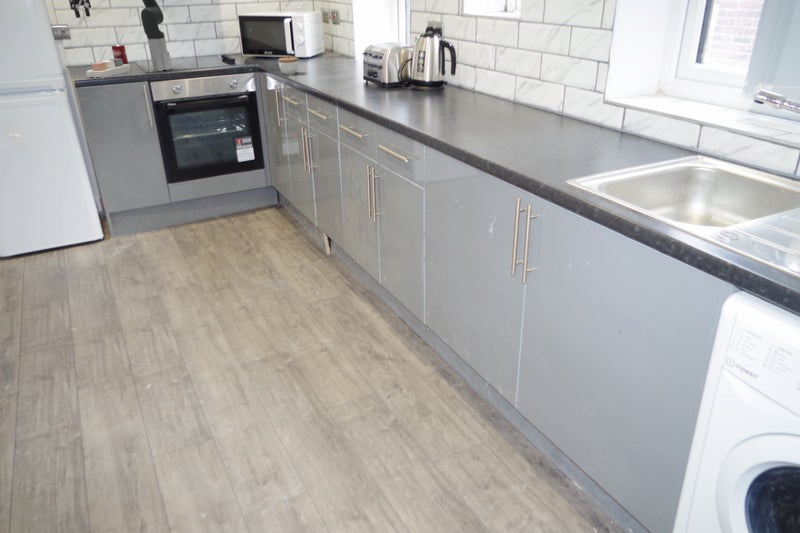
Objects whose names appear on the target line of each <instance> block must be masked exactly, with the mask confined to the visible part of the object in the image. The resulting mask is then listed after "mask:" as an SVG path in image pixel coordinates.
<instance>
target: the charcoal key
mask: <svg viewBox="0 0 800 533" xmlns="http://www.w3.org/2000/svg"><path fill="white" fill-rule="evenodd" d="M108 61H114V64H115V67H119V66H123V61H122V59H114V58H112V59H111V58H110V59H108Z"/></svg>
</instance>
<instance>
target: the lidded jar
mask: <svg viewBox="0 0 800 533" xmlns="http://www.w3.org/2000/svg"><path fill="white" fill-rule="evenodd" d="M277 61H278V66H279V70H280V71H281V72H282V73H283V75H286V76H287V75H296V73H297V72H298V69H299V58H298V57H292V56H291V57H290V55H287V56H286V57H280V58H278V60H277Z"/></svg>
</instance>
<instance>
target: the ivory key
mask: <svg viewBox="0 0 800 533" xmlns="http://www.w3.org/2000/svg"><path fill="white" fill-rule="evenodd" d="M101 62H102V63H106V67H107V69H111V68H115V64H114V61H109V59H108V60H103V61H101Z"/></svg>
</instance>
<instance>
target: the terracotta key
mask: <svg viewBox="0 0 800 533" xmlns="http://www.w3.org/2000/svg"><path fill="white" fill-rule="evenodd" d="M91 68H92V69H91V70H93V71H103V70H107V67H106V63H102V61H100V62H94V63H91Z"/></svg>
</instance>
